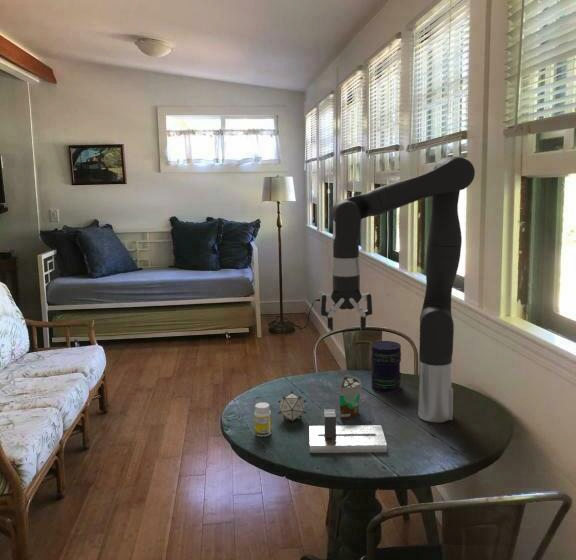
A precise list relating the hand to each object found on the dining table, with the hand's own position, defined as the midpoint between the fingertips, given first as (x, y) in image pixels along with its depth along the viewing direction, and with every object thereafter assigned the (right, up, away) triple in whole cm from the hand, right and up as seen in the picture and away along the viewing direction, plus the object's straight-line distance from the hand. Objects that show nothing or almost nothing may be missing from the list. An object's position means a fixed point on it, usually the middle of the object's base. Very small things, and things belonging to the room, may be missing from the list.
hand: (346, 329), depth 163 cm
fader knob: (-5, -28, -7) cm, 29 cm away
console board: (-1, -30, -7) cm, 31 cm away
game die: (-15, -28, +9) cm, 33 cm away
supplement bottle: (-23, -29, 0) cm, 38 cm away
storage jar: (+17, -23, +32) cm, 43 cm away
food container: (+3, -27, +12) cm, 29 cm away
